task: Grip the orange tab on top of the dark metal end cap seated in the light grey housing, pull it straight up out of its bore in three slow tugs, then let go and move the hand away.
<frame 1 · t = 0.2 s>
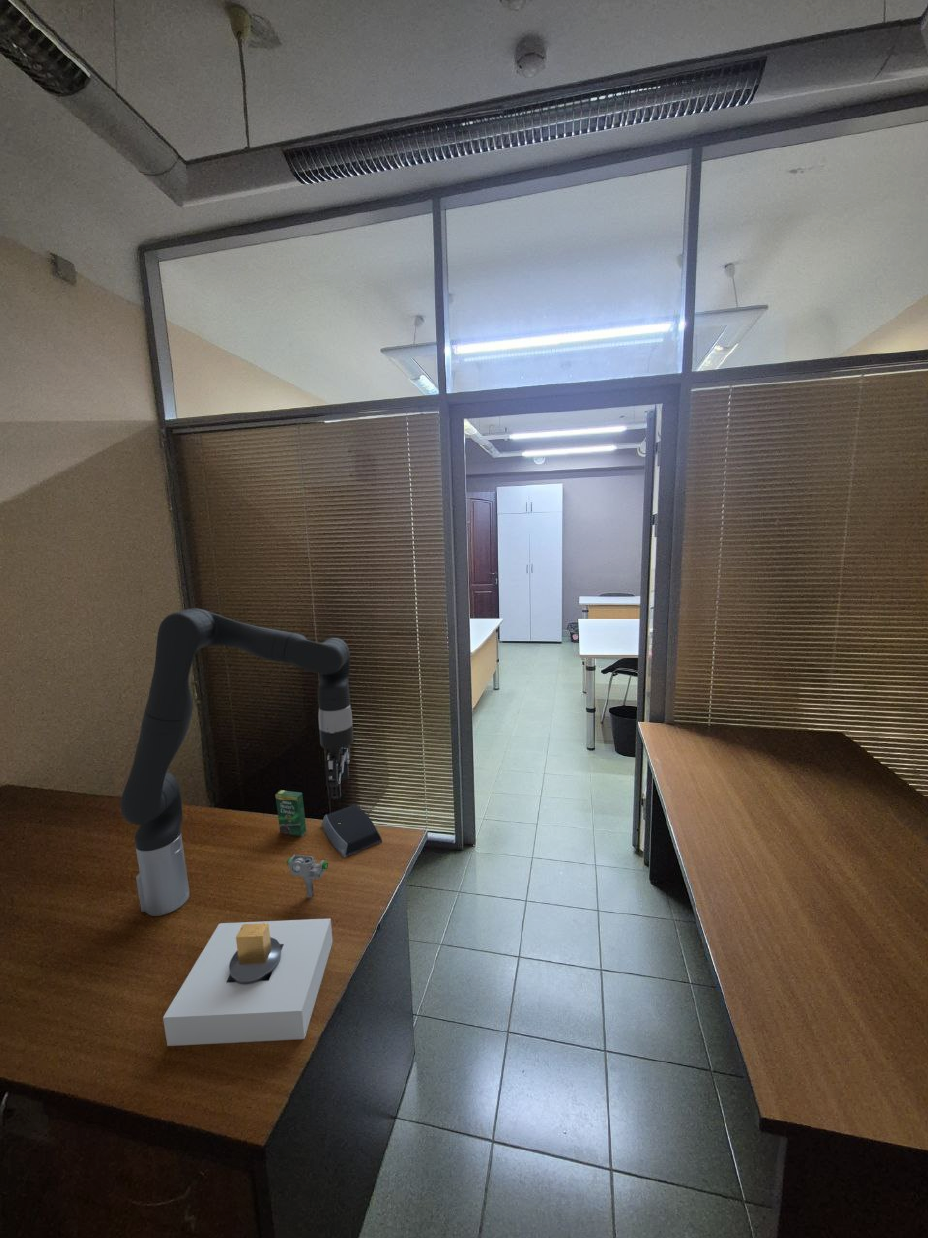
hand: (340, 788, 110), 29 cm above the table, tool pointing down, fingers open, 8 cm apart
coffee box: (292, 833, 141), on the table
external hard drive: (351, 834, 140), on the table
mechanical component: (310, 896, 115), on the table
housing: (259, 988, 92), on the table
end cap: (255, 957, 90), point 7 cm above the table, slide at 0.0 cm
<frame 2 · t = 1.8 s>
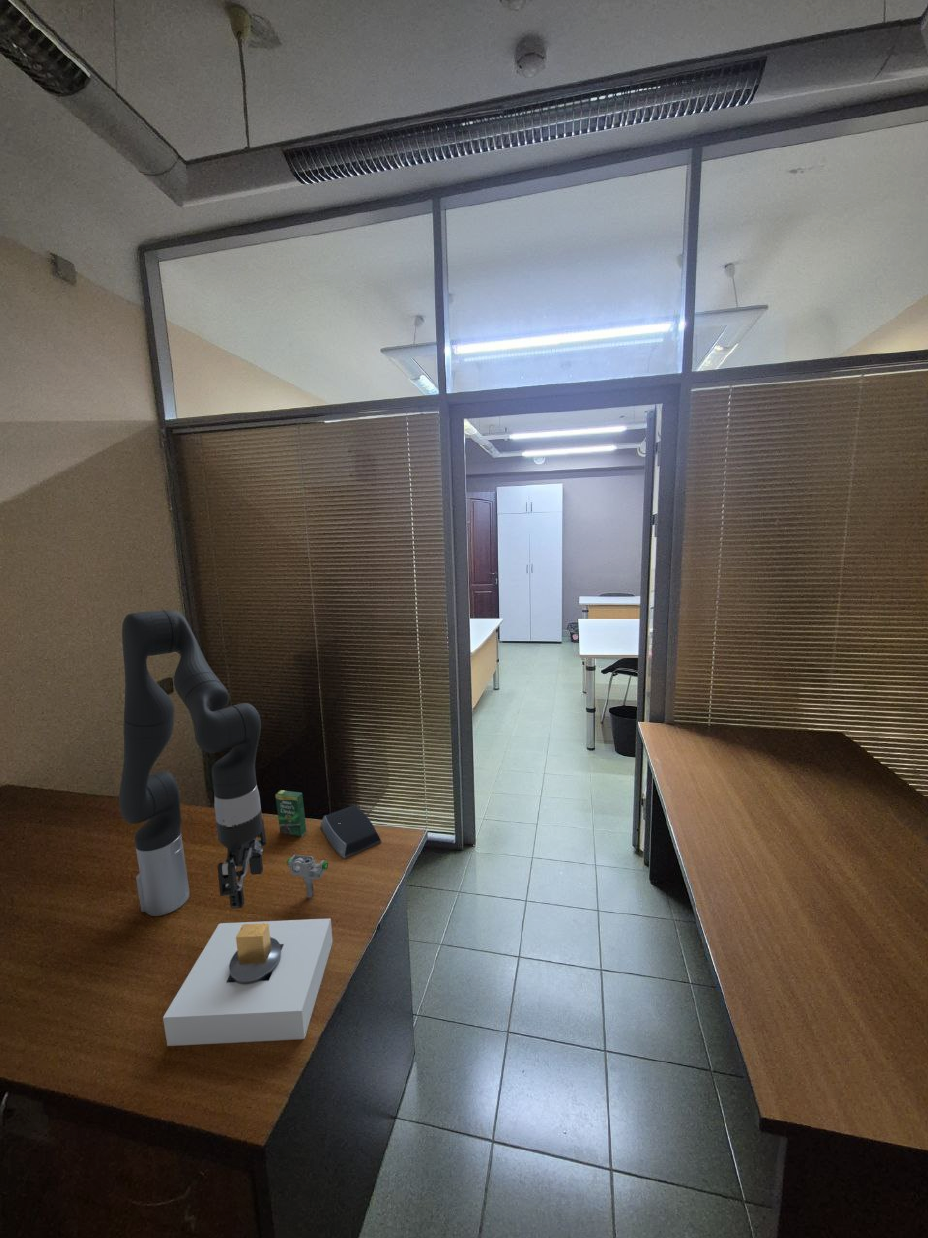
hand: (247, 889, 88), 22 cm above the table, tool pointing down, fingers open, 8 cm apart
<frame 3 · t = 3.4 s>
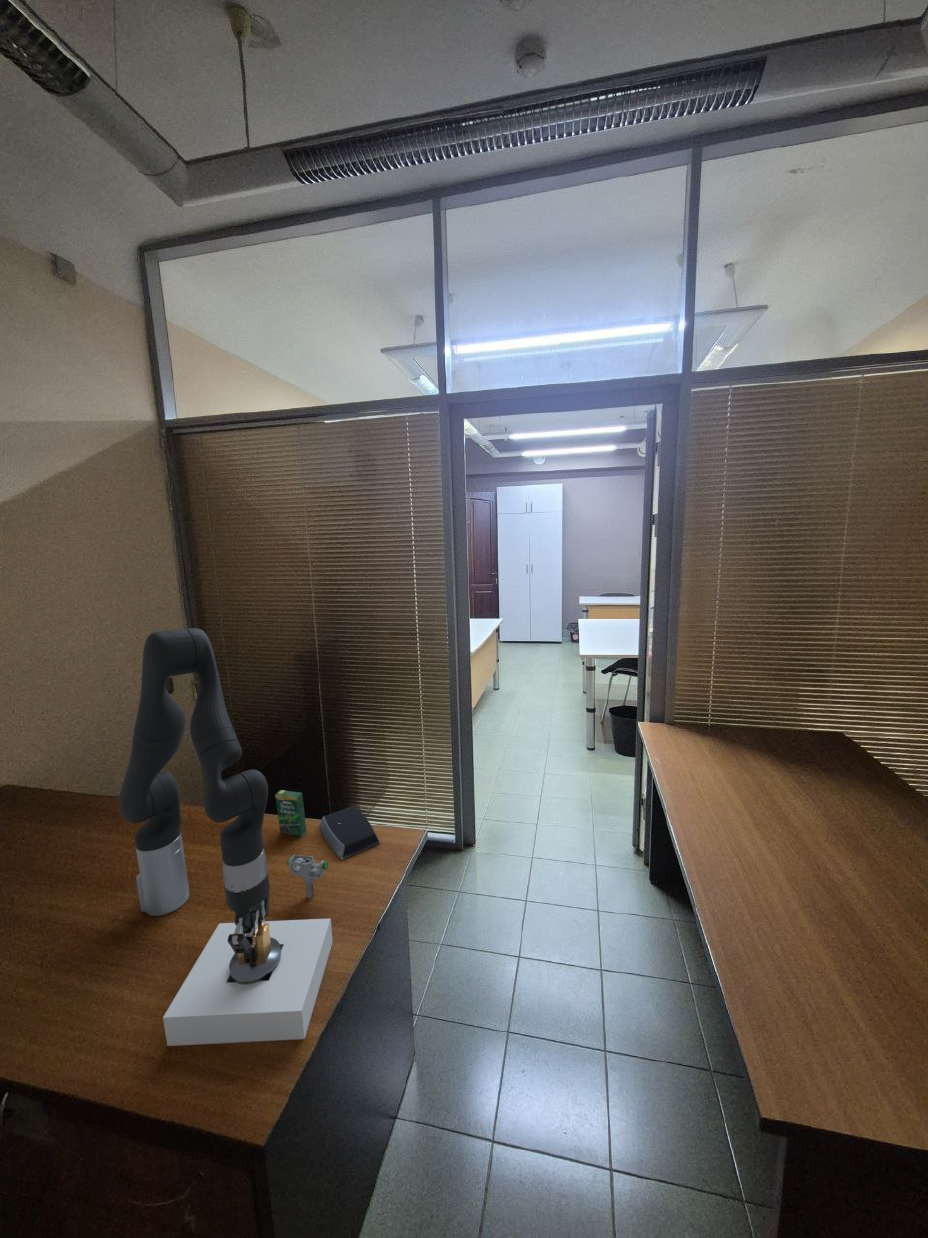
hand: (255, 953, 90), 8 cm above the table, tool pointing down, fingers closed on end cap, 3 cm apart
end cap: (255, 957, 90), point 7 cm above the table, slide at 0.0 cm, touching gripper
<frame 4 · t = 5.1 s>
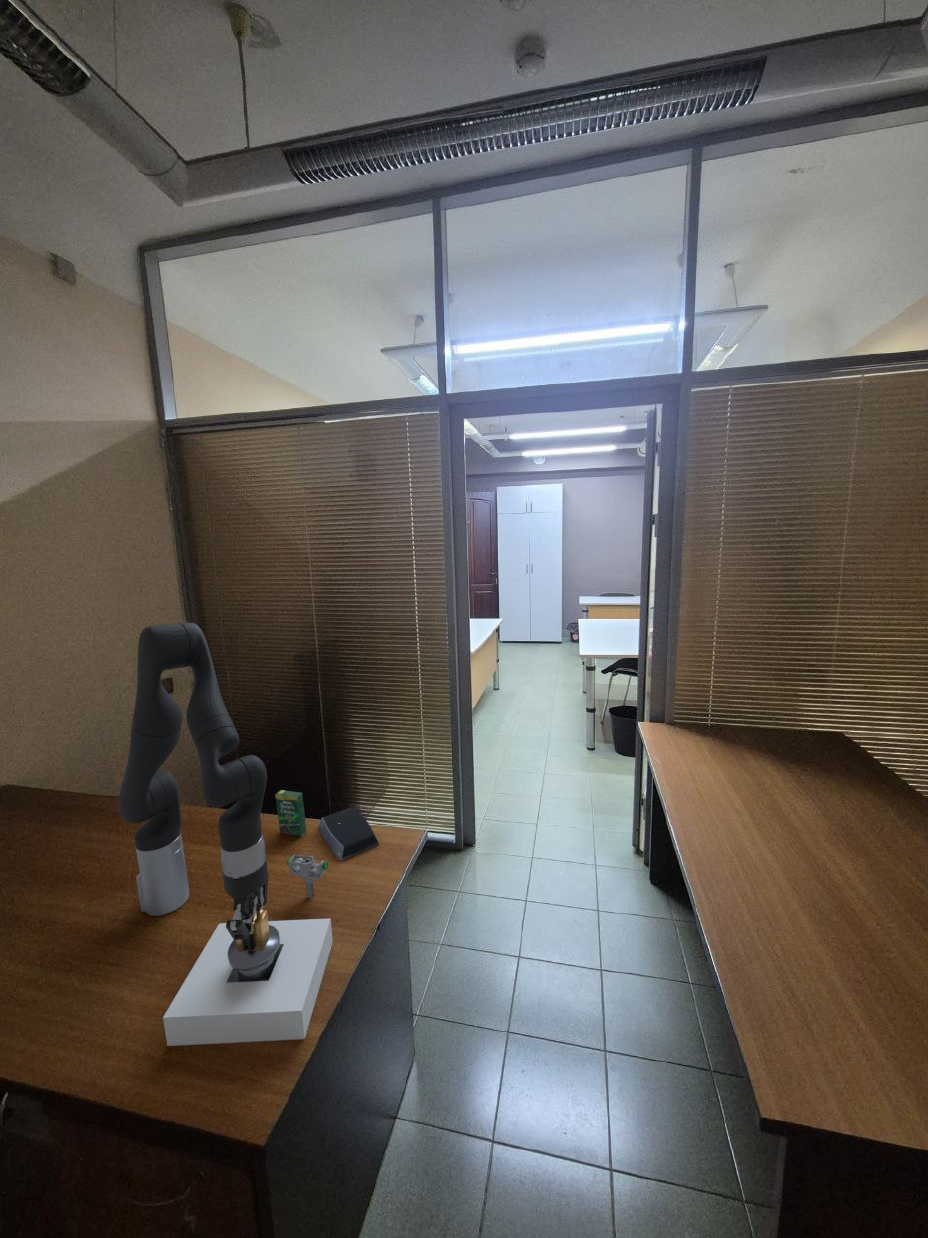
hand: (253, 940, 90), 11 cm above the table, tool pointing down, fingers closed on end cap, 3 cm apart
end cap: (254, 944, 90), point 10 cm above the table, slide at 2.9 cm, touching gripper
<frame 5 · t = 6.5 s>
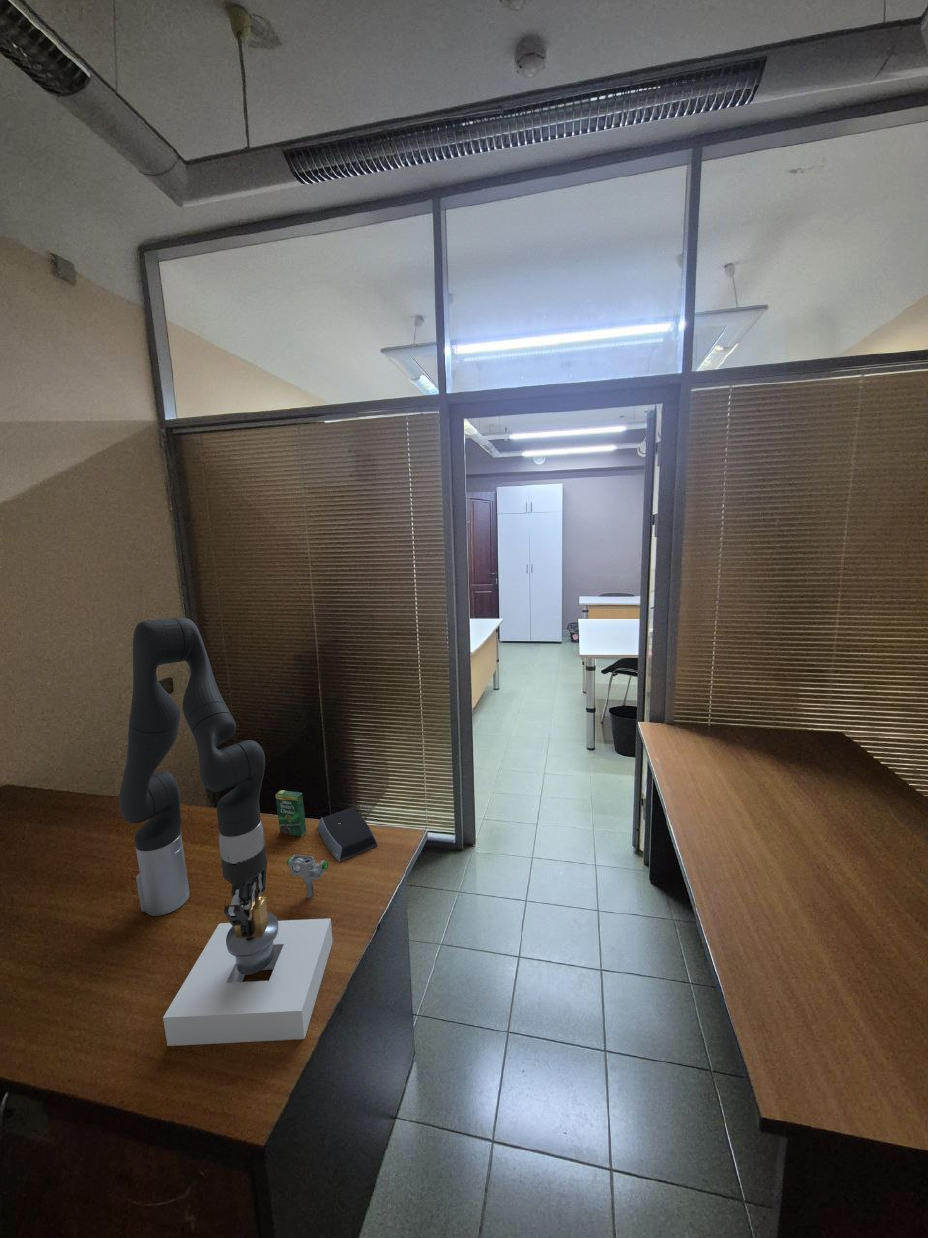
hand: (252, 927, 89), 14 cm above the table, tool pointing down, fingers closed on end cap, 3 cm apart
end cap: (252, 931, 89), point 13 cm above the table, slide at 5.9 cm, touching gripper
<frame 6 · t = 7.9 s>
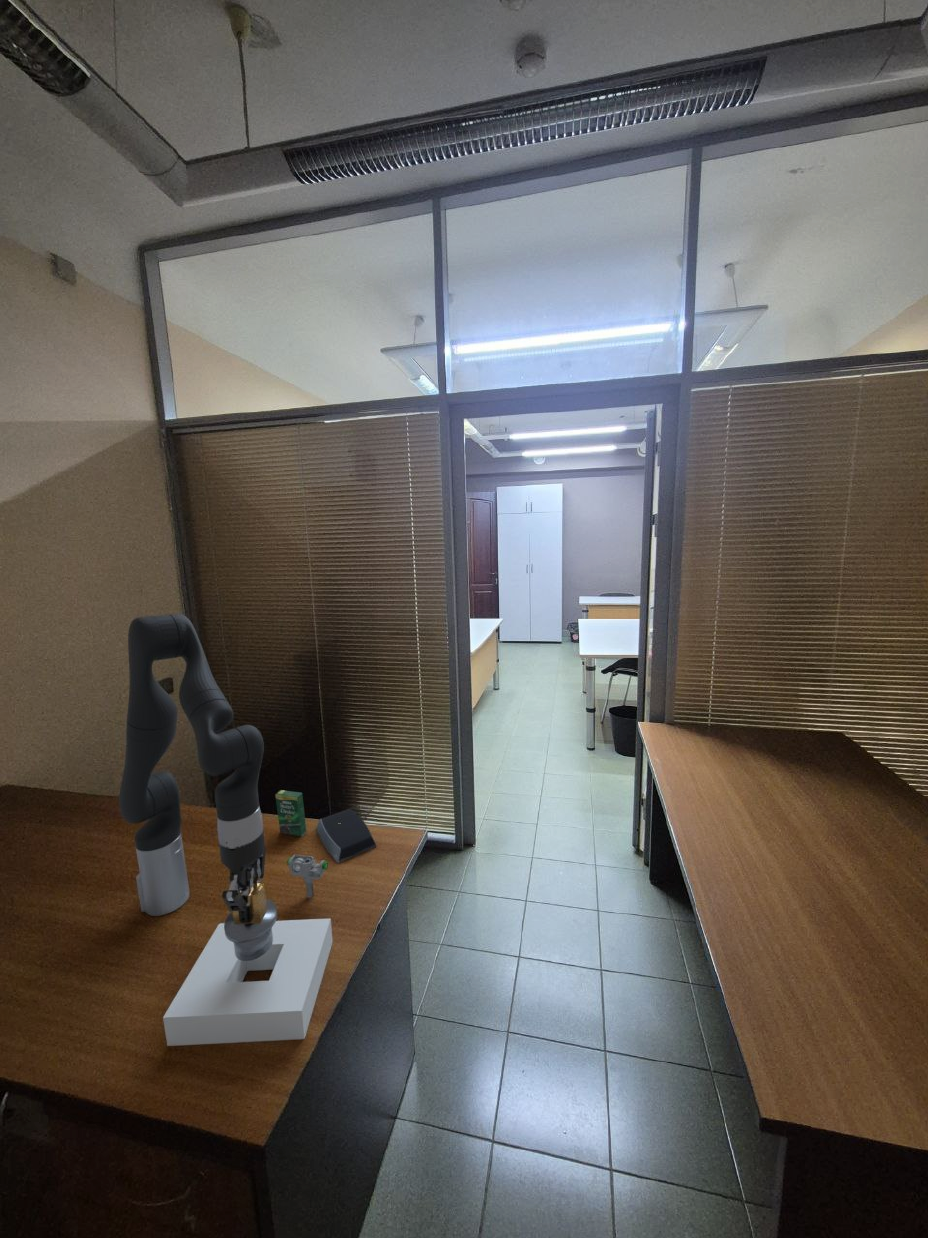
hand: (250, 913, 89), 17 cm above the table, tool pointing down, fingers closed on end cap, 3 cm apart
end cap: (251, 917, 89), point 16 cm above the table, slide at 8.9 cm, touching gripper
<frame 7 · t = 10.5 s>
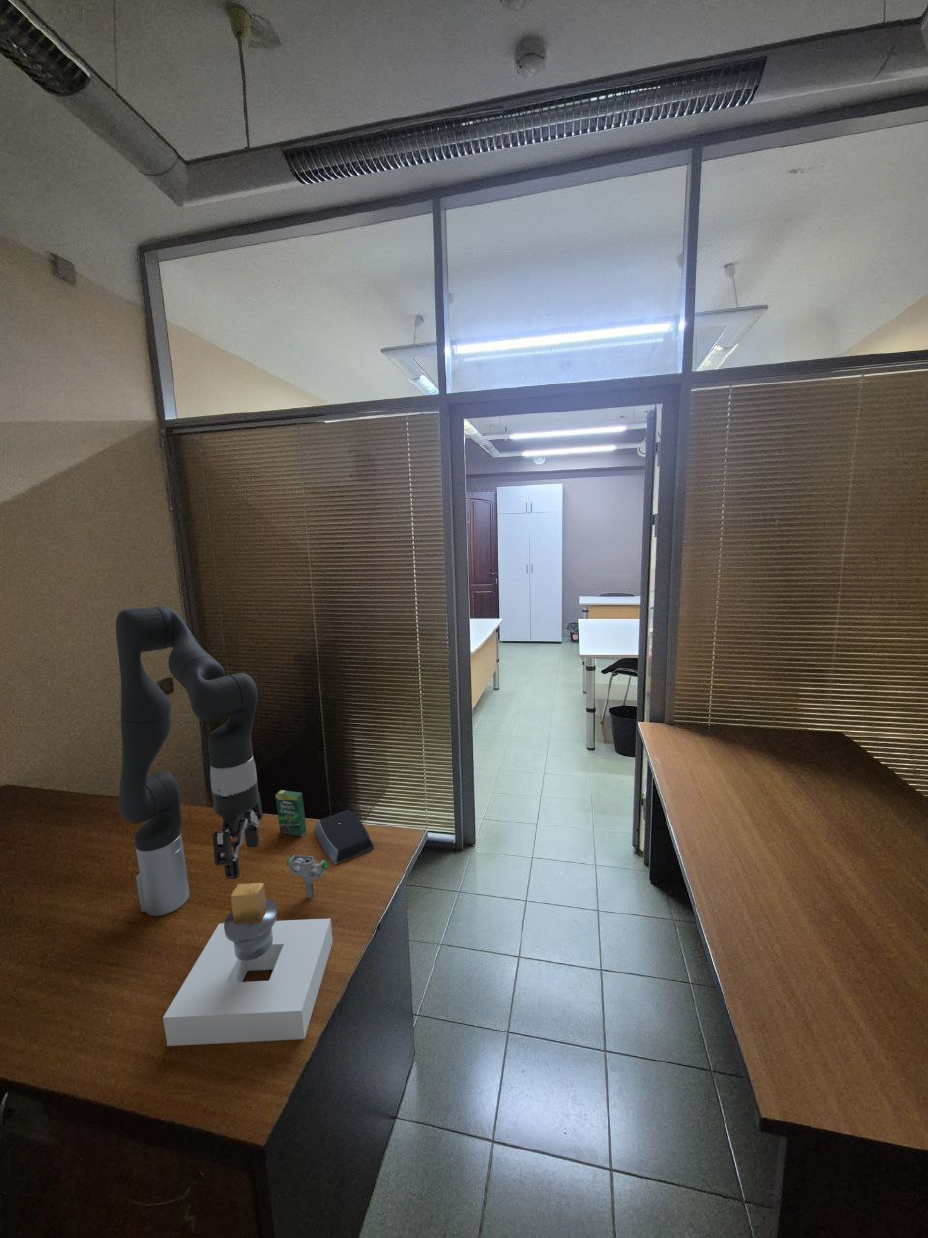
hand: (243, 861, 87), 28 cm above the table, tool pointing down, fingers open, 8 cm apart
end cap: (250, 917, 89), point 16 cm above the table, slide at 9.0 cm
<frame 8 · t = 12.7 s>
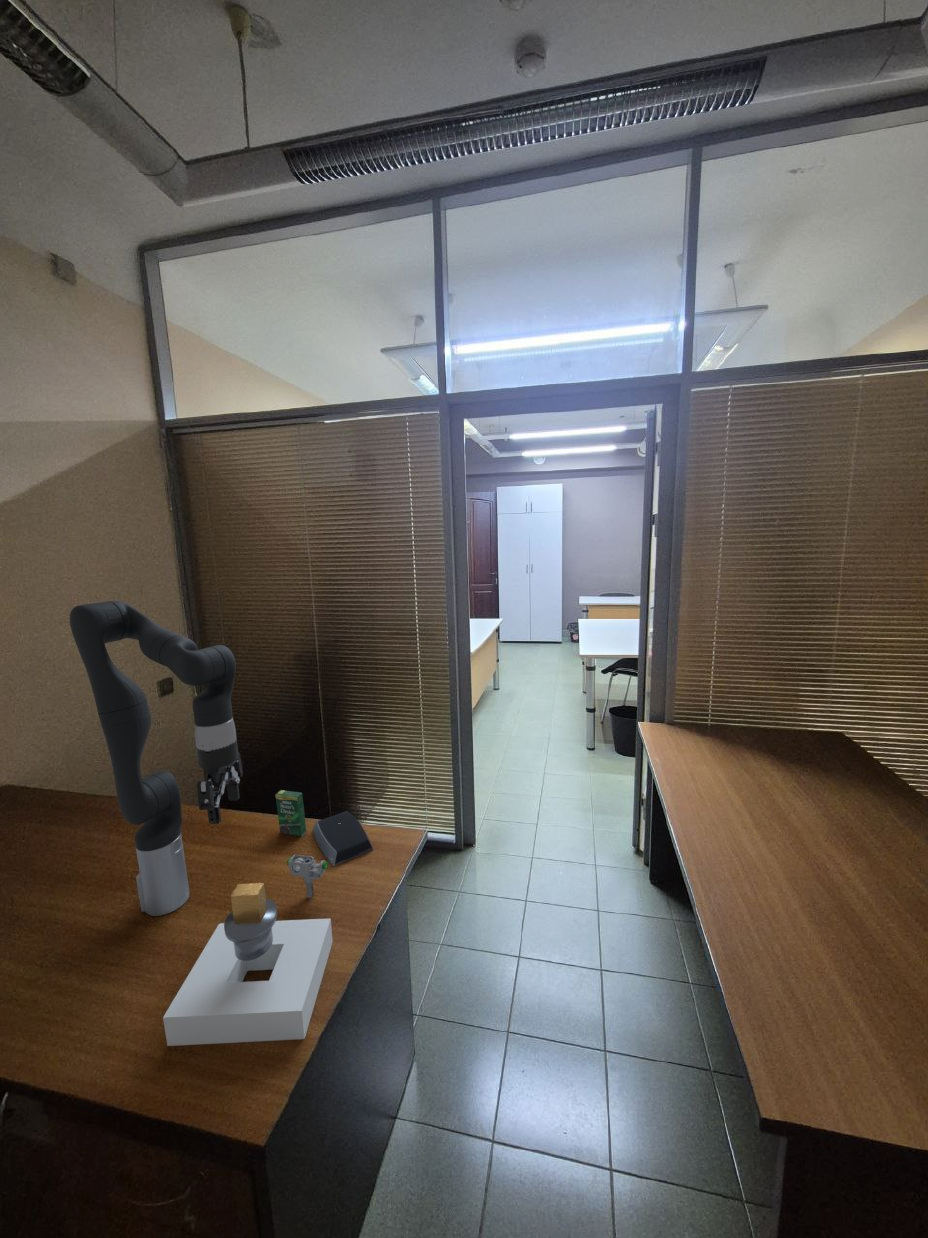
hand: (225, 811, 100), 30 cm above the table, tool pointing down, fingers open, 8 cm apart
at the end: end cap slide at 9.0 cm; the gripper is holding nothing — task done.
